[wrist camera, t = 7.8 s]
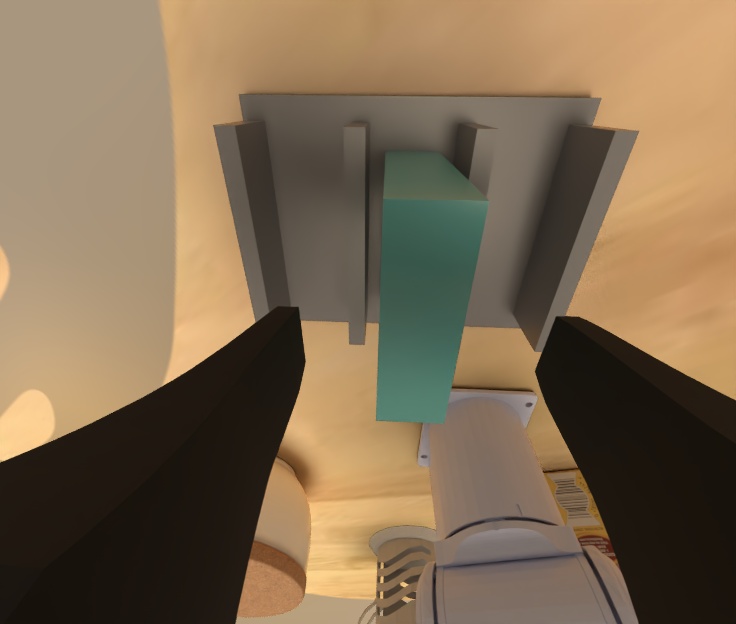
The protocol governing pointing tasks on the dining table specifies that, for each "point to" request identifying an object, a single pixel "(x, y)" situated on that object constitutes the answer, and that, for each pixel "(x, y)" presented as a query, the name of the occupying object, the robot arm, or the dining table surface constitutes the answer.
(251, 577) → the lidded bowl
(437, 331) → the teal upright slab
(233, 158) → the rack
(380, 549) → the french press
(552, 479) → the candy box
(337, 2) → the dining table surface
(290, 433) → the dining table surface
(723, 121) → the dining table surface
